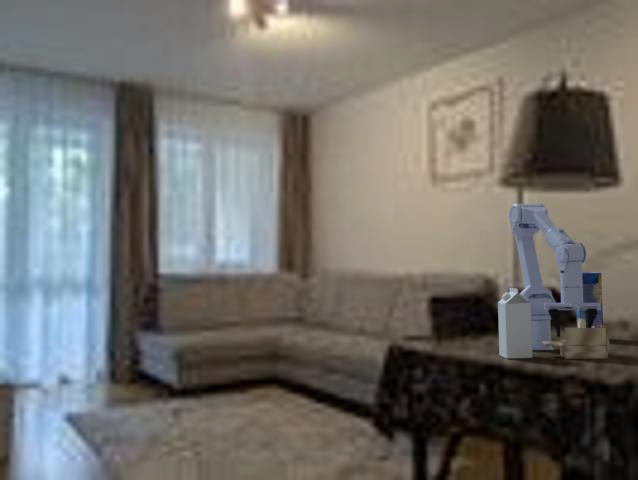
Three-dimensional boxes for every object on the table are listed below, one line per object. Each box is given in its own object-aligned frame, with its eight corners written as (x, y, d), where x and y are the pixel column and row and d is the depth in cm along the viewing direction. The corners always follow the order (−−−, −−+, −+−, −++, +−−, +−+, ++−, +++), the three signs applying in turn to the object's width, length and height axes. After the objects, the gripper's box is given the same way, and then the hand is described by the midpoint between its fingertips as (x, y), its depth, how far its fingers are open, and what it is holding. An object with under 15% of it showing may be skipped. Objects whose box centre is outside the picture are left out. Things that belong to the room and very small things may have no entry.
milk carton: (524, 355, 199) (522, 287, 200) (532, 358, 192) (530, 288, 193) (499, 355, 199) (497, 288, 200) (506, 359, 192) (504, 289, 192)
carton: (546, 358, 191) (545, 344, 191) (540, 352, 204) (540, 339, 204) (608, 359, 188) (607, 344, 188) (598, 352, 201) (598, 339, 201)
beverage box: (598, 338, 237) (596, 272, 238) (603, 341, 226) (601, 273, 227) (577, 338, 239) (575, 272, 239) (581, 341, 228) (578, 273, 229)
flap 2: (605, 327, 189) (607, 327, 189) (600, 325, 196) (601, 325, 196) (607, 344, 189) (609, 344, 189) (602, 341, 196) (603, 341, 196)
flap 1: (565, 344, 190) (566, 344, 190) (565, 327, 191) (565, 327, 190) (606, 344, 188) (606, 344, 188) (605, 327, 189) (605, 327, 188)
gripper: (545, 288, 192) (547, 338, 192) (602, 287, 189) (604, 338, 189) (542, 287, 199) (544, 335, 199) (597, 286, 196) (598, 335, 196)
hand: (573, 336), depth 194 cm, fingers open, 7 cm apart
